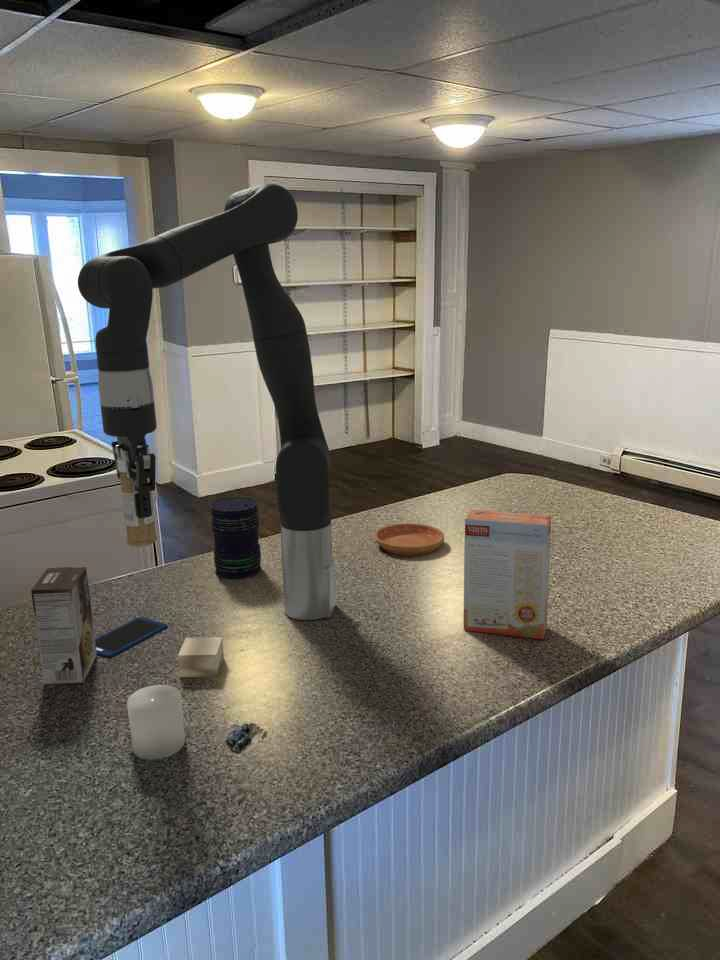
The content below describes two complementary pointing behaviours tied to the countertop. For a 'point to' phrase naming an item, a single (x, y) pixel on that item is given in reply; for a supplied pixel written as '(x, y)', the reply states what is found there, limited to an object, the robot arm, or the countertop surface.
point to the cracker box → (506, 573)
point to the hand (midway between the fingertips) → (139, 512)
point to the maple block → (201, 657)
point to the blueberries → (242, 736)
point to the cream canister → (156, 722)
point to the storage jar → (236, 538)
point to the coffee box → (64, 625)
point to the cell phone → (127, 636)
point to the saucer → (409, 539)
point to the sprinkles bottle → (137, 529)
